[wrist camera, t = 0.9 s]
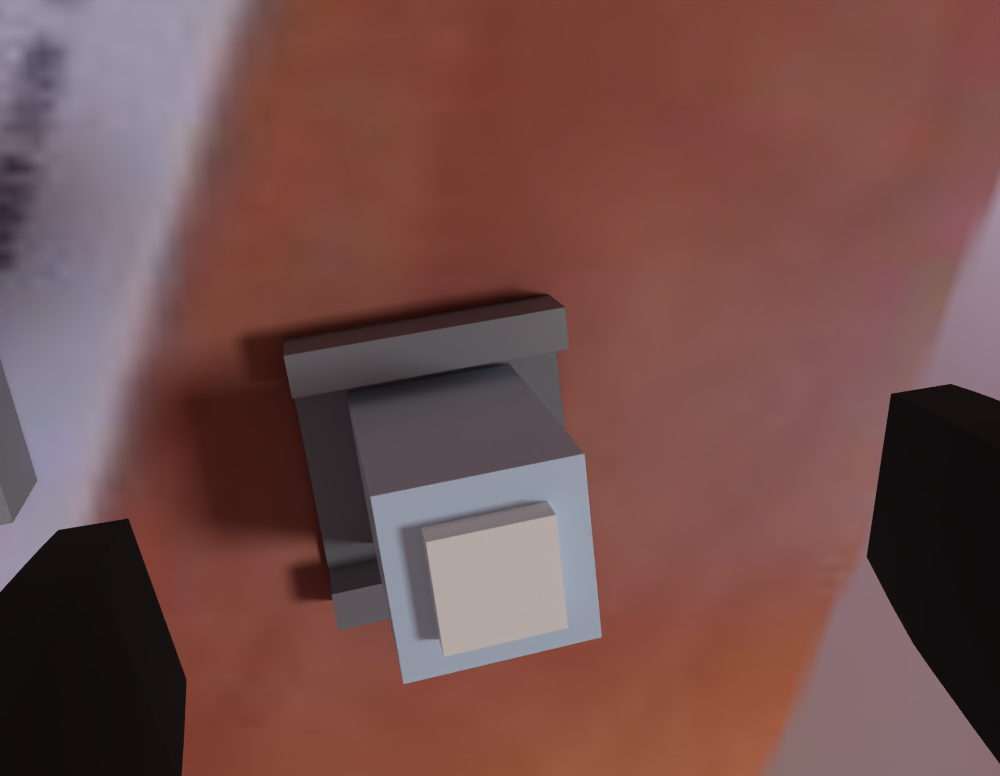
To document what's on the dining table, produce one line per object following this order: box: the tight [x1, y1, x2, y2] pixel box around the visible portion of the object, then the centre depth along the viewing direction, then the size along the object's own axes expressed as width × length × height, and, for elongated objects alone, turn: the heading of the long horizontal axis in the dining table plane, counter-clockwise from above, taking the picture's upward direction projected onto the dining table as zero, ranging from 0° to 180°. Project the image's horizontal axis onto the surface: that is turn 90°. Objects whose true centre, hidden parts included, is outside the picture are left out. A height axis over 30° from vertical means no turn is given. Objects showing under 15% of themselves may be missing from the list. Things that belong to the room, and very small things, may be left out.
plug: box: [346, 364, 602, 684], centre depth 20 cm, size 4×4×7 cm
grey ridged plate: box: [283, 295, 569, 630], centre depth 23 cm, size 7×6×1 cm
